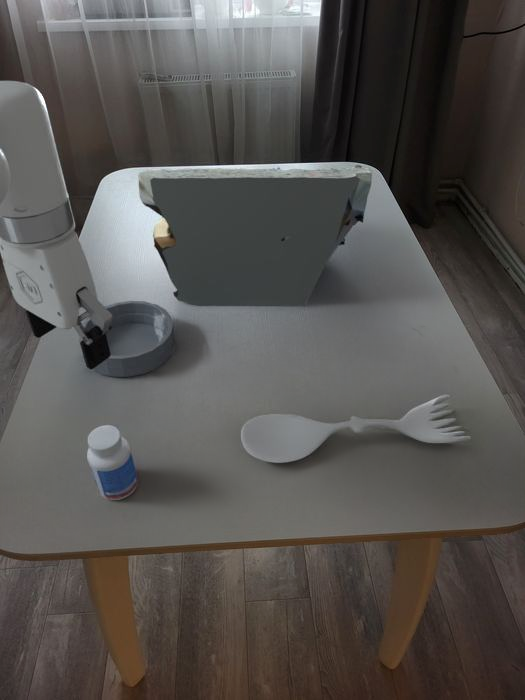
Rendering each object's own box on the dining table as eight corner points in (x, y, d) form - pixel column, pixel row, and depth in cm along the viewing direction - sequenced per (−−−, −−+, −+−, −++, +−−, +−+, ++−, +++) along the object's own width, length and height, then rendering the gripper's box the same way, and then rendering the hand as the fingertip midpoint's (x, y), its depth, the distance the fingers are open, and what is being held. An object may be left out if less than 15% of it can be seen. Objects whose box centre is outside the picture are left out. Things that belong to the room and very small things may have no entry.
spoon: (467, 452, 79) (473, 437, 77) (243, 473, 77) (243, 457, 74) (445, 406, 86) (450, 391, 84) (238, 424, 83) (238, 408, 81)
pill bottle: (146, 479, 76) (135, 432, 70) (119, 508, 72) (105, 461, 66) (117, 462, 78) (104, 415, 72) (89, 489, 75) (72, 442, 68)
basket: (345, 227, 128) (351, 102, 110) (371, 308, 104) (383, 165, 86) (172, 240, 128) (150, 117, 110) (159, 323, 105) (127, 184, 87)
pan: (102, 391, 89) (96, 371, 86) (72, 338, 99) (66, 318, 96) (190, 357, 95) (188, 337, 92) (154, 311, 105) (151, 291, 102)
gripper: (-49, 208, 58) (2, 335, 69) (58, 260, 50) (96, 394, 61) (14, 183, 62) (52, 306, 74) (120, 227, 55) (145, 357, 66)
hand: (72, 346), depth 67 cm, fingers open, 9 cm apart
